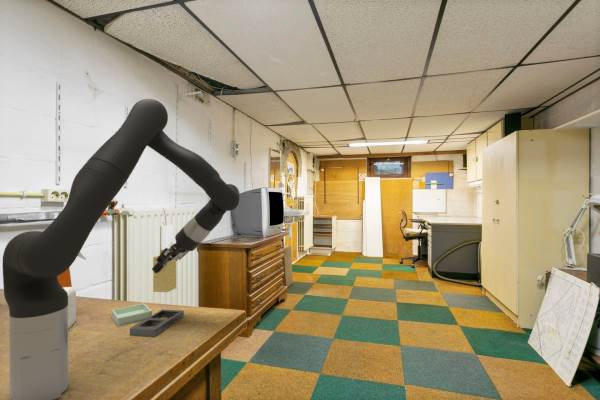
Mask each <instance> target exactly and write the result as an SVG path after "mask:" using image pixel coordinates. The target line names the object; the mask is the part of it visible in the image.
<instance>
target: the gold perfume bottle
mask: <svg viewBox="0 0 600 400" xmlns="http://www.w3.org/2000/svg"><path fill="white" fill-rule="evenodd" d="M163 250H164V249H160V250H159V255H160V254H161V253H162V252H163ZM159 255H156V256H154V257H152V264H153V265H152V266H153V267H154V266H155V265H156V264H157V263H158V262H157V261H156V259H157V258H158V257H159ZM170 258H172V257H171V256H170ZM153 267H152V268H153ZM152 274H153V276H152V278H153V279H152V284H153V285H152V293H153V292H154V293H169V292H171V291H173V290H175V289H177V262H176V258H175V259H174V260H173V261H169V262H168V263H167V264H166V265H165V266H164V267H163V268H162V269H161V270H160V271H159V272H158V273H155V272H154V271H153V270H152Z"/></svg>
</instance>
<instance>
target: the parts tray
mask: <svg viewBox="0 0 600 400" xmlns="http://www.w3.org/2000/svg"><path fill="white" fill-rule="evenodd" d="M152 315H153V310H152V309H151V308H149V307H148V305H146V304H145V303H138V304H134V305H128V306H125V307H120V308H119V307H118V308H114V309H111V318H112V320H113V321H114V323H115V325H116V326H117V327H121V326H125V325H129V324H135V323H139V322H142V321H143V320H145V319H147V318H148V317H150V316H152Z"/></svg>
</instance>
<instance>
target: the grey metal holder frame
mask: <svg viewBox="0 0 600 400" xmlns="http://www.w3.org/2000/svg"><path fill="white" fill-rule="evenodd" d="M184 316H185V311H184V309H183V310H181V309H180V310H179V309H167V308H166V309H161V310H159V311H157V312H155V313H152V316H150V317H148V318H147V319H145V320H143V321H139V322H137V323H136V324H135V325H133V326H131V327H130V328H129V336H133V337H134V336H136V337H147V338H155V337H157V336H158V335H160V334H161V333H163V332H164V331H165V330H167V329H168V328H170V327H171V326H172V325H174V324H176V323H177V322H178V321H179V320H182V319H183V318H184Z"/></svg>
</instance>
